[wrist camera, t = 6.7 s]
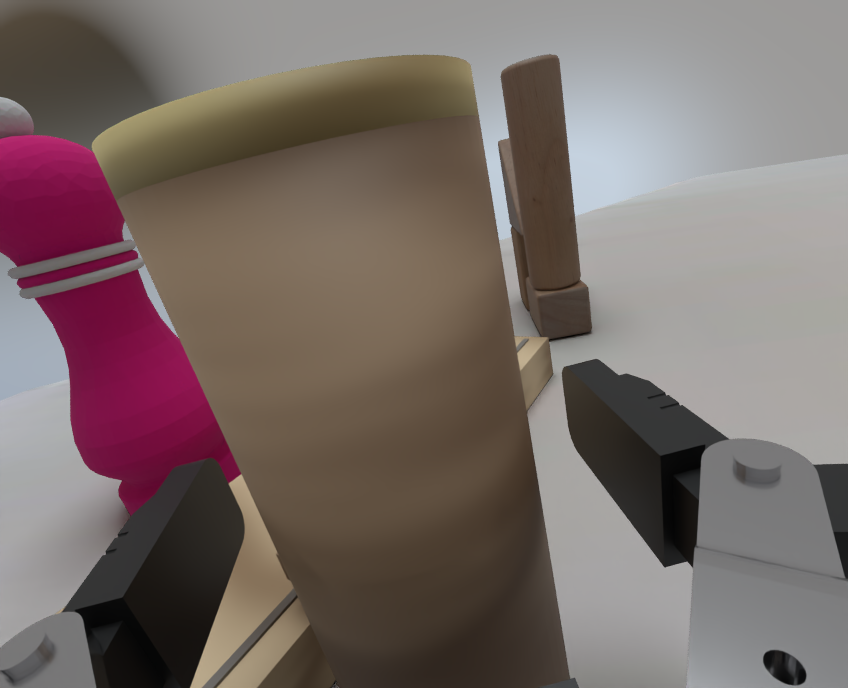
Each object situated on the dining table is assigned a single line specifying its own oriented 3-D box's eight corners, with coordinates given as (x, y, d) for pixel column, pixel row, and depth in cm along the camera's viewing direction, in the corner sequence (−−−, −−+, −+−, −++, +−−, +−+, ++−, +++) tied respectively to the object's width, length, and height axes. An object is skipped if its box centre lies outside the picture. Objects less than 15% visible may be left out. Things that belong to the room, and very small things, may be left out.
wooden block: (559, 292, 42) (534, 78, 36) (593, 333, 32) (567, 46, 26) (520, 300, 42) (488, 90, 36) (542, 343, 33) (503, 64, 26)
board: (127, 973, 9) (61, 917, 8) (9, 732, 14) (-39, 681, 13) (553, 373, 28) (548, 335, 27) (434, 364, 33) (427, 332, 32)
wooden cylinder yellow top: (536, 949, 8) (252, 38, 3) (274, 721, 13) (-18, 207, 8) (604, 684, 12) (529, 63, 7) (380, 581, 17) (232, 167, 11)
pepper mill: (200, 443, 30) (43, 120, 23) (282, 450, 27) (129, 76, 20) (93, 524, 24) (-164, 121, 17) (181, 546, 21) (-91, 59, 14)
